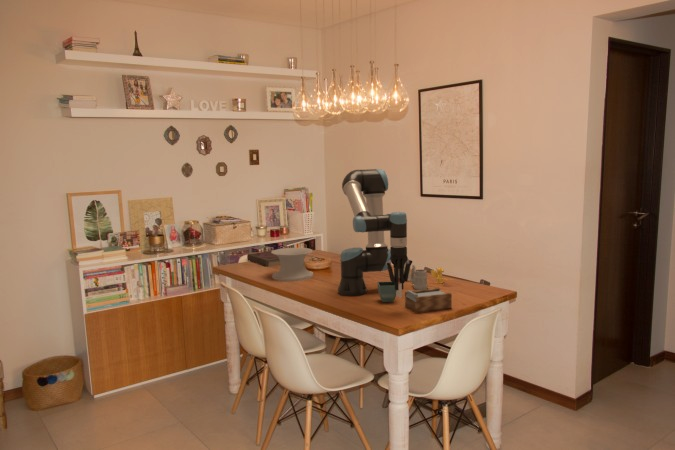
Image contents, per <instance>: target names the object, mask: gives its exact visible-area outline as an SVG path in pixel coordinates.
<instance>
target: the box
mask: <svg viewBox="0 0 675 450" xmlns="http://www.w3.org/2000/svg"><path fill="white" fill-rule="evenodd" d="M438 290H440V291H441V288H439V287H435V288H427V289H425V290H416V289H415V290H411V291H412V292H414V293H421V292H430V291H438ZM445 293H446V292H445ZM406 294H407V291H404V296H405V297H404V304H405V305H404V306H405V307H406V308H407V309H409V310H410V311H412V312H414V313H415V314H421V313H422V314H423V313H429V312H430V313H431V312H437V311H444V310H445V311H447V310H452V307H453V306H452V302H453V301H452V295H453V294H452V293H451V292H448V293H446V294H438V295H429V296H421V297H415V299H416V302H415V301H413V300H411V299H409V298H407V297H406Z"/></svg>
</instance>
